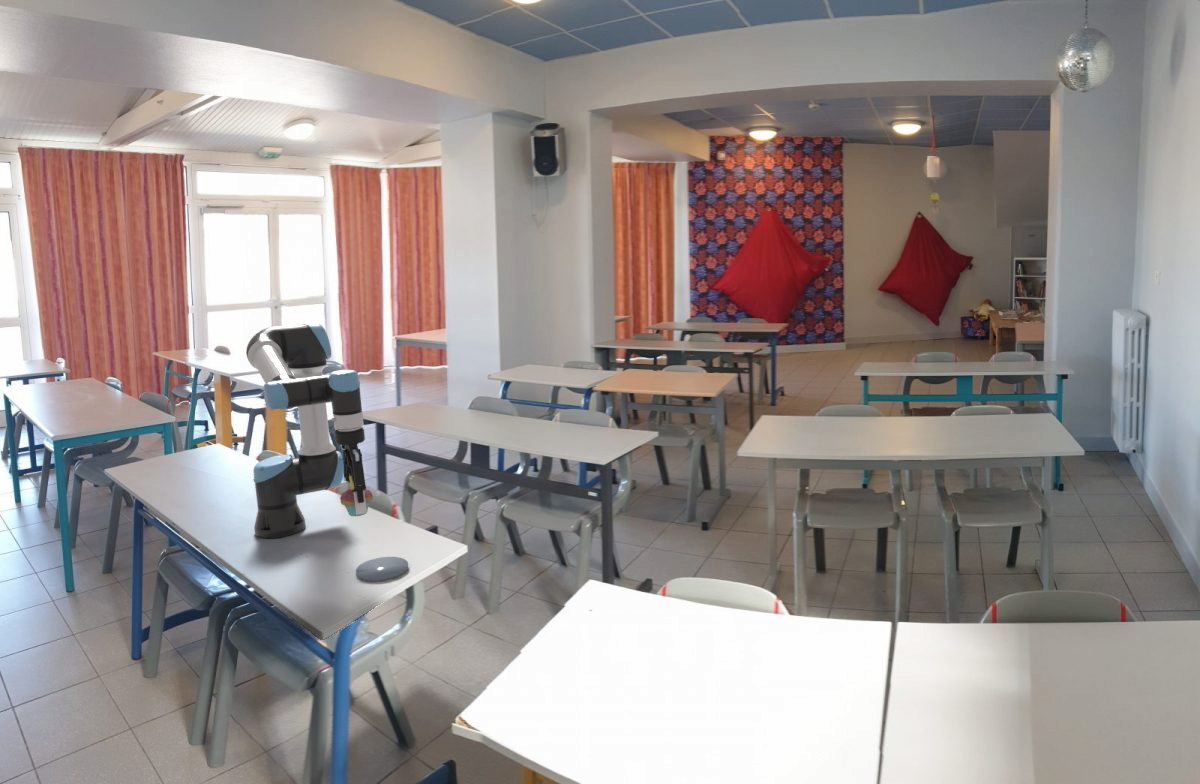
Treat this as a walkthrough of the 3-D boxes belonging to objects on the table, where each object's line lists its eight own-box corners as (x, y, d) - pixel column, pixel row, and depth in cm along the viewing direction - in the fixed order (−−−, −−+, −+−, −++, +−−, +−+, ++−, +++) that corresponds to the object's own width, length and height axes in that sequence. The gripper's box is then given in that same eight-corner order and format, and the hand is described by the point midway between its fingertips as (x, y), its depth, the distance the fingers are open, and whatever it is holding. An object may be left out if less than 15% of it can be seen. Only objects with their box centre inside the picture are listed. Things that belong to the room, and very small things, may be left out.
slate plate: (346, 579, 216) (345, 575, 216) (373, 559, 229) (372, 555, 229) (392, 583, 212) (392, 579, 212) (417, 562, 226) (417, 558, 225)
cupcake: (364, 519, 213) (359, 476, 211) (335, 518, 215) (330, 475, 213) (379, 508, 221) (375, 467, 219) (351, 507, 223) (347, 466, 221)
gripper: (327, 423, 221) (336, 501, 225) (342, 438, 203) (351, 522, 207) (355, 419, 225) (363, 496, 229) (372, 433, 206) (380, 516, 211)
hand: (357, 508), depth 218 cm, fingers closed on cupcake, 8 cm apart
